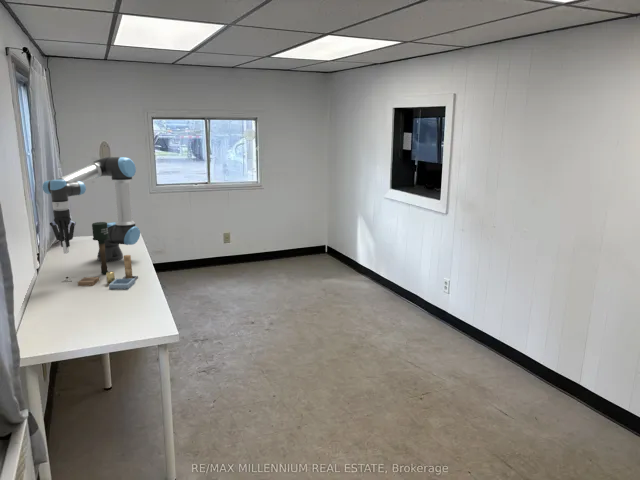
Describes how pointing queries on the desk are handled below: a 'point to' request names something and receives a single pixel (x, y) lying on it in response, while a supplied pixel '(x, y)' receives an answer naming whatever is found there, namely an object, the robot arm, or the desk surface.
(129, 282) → the tray
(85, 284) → the flat cardboard box
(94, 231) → the stick grenade
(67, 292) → the desk surface
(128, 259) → the dowel
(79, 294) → the desk surface
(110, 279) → the cylinder
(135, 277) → the holder
